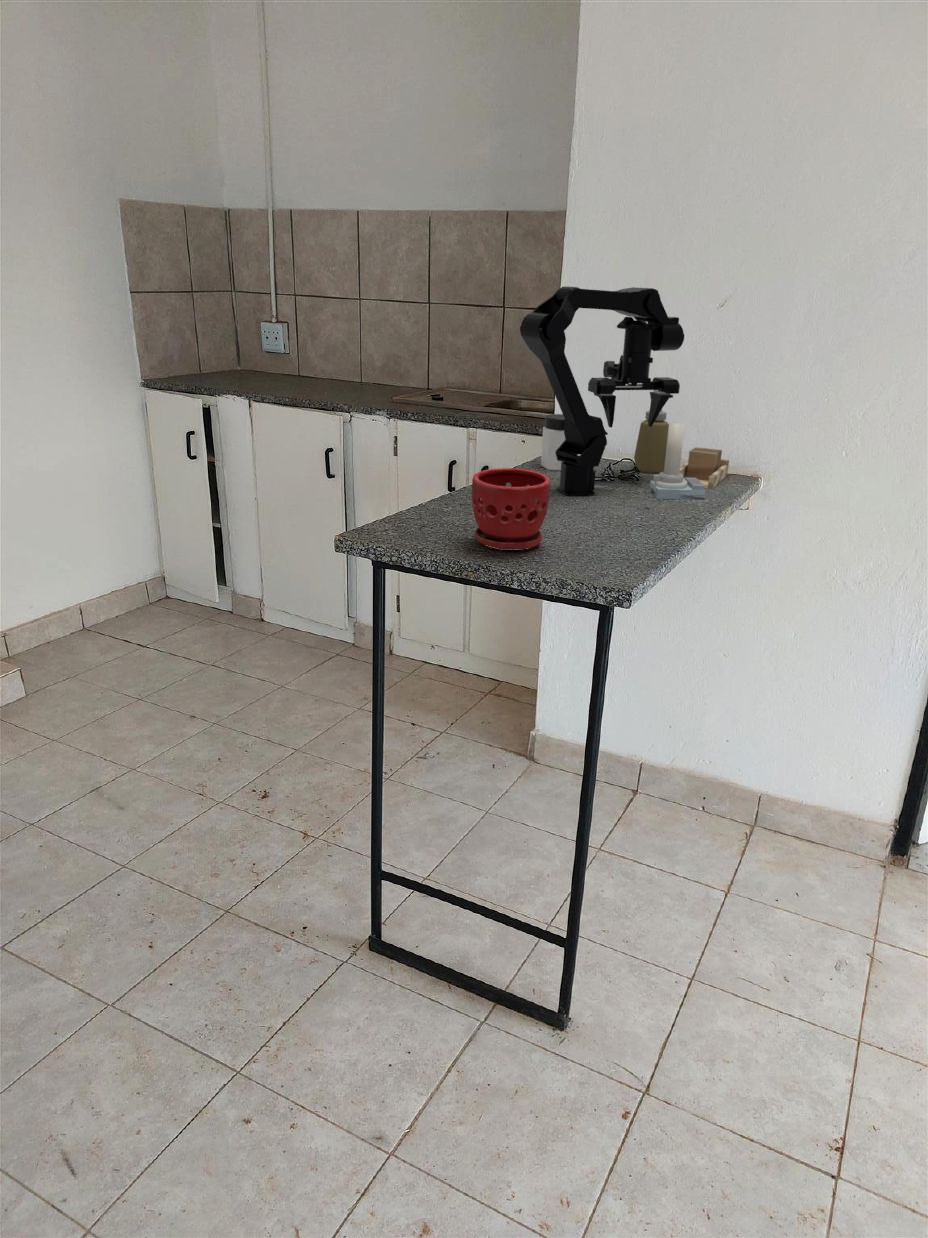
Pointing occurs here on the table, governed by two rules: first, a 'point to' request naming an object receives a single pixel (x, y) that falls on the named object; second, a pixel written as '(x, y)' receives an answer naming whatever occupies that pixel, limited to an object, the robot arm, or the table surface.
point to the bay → (714, 478)
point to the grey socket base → (678, 489)
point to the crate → (703, 462)
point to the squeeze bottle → (652, 445)
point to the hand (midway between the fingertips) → (630, 426)
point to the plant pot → (509, 507)
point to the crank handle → (672, 455)
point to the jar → (552, 441)
